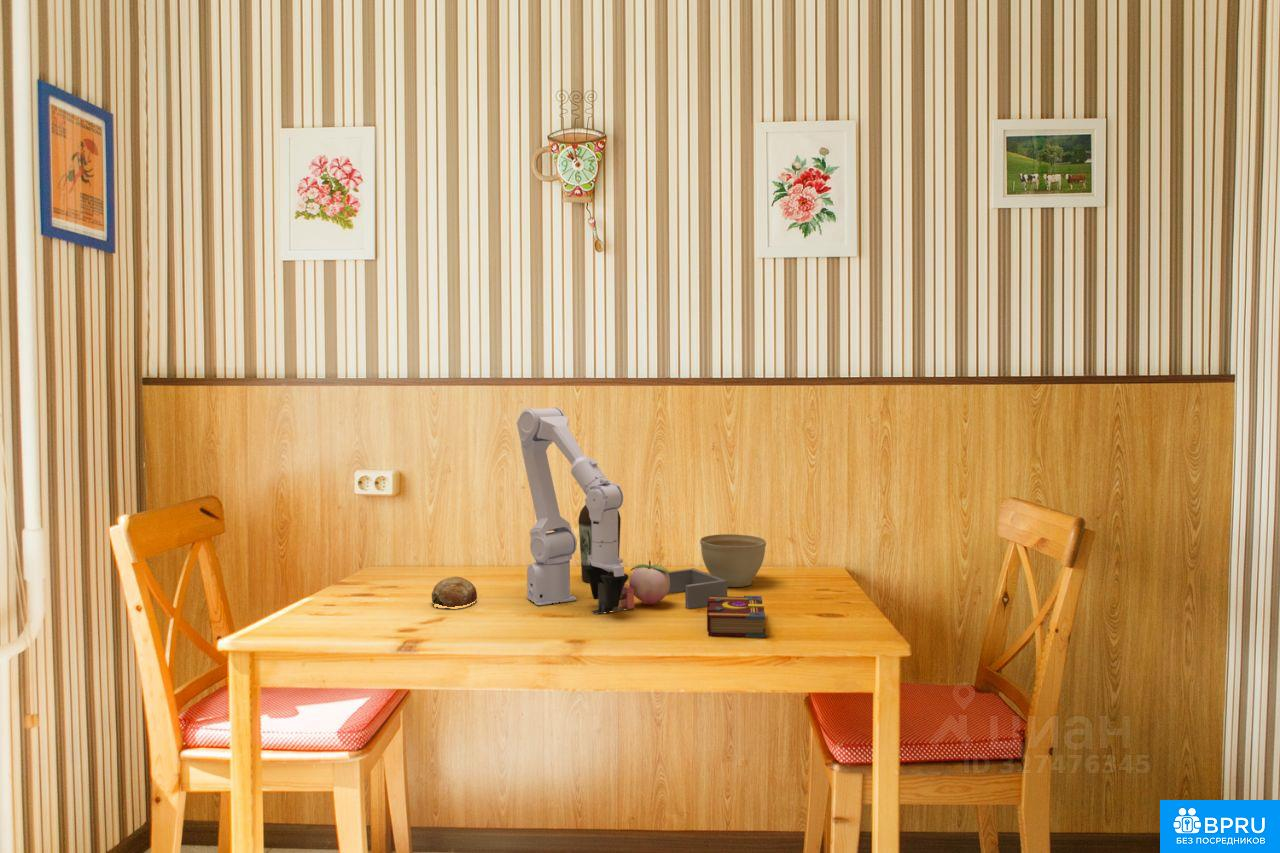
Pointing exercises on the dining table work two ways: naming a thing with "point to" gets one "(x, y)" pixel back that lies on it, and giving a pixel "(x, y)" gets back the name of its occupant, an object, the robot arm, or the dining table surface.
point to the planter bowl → (733, 557)
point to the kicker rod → (625, 598)
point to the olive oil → (589, 539)
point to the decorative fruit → (650, 582)
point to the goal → (696, 586)
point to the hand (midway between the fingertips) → (605, 602)
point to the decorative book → (736, 616)
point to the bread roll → (454, 592)
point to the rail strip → (612, 610)
